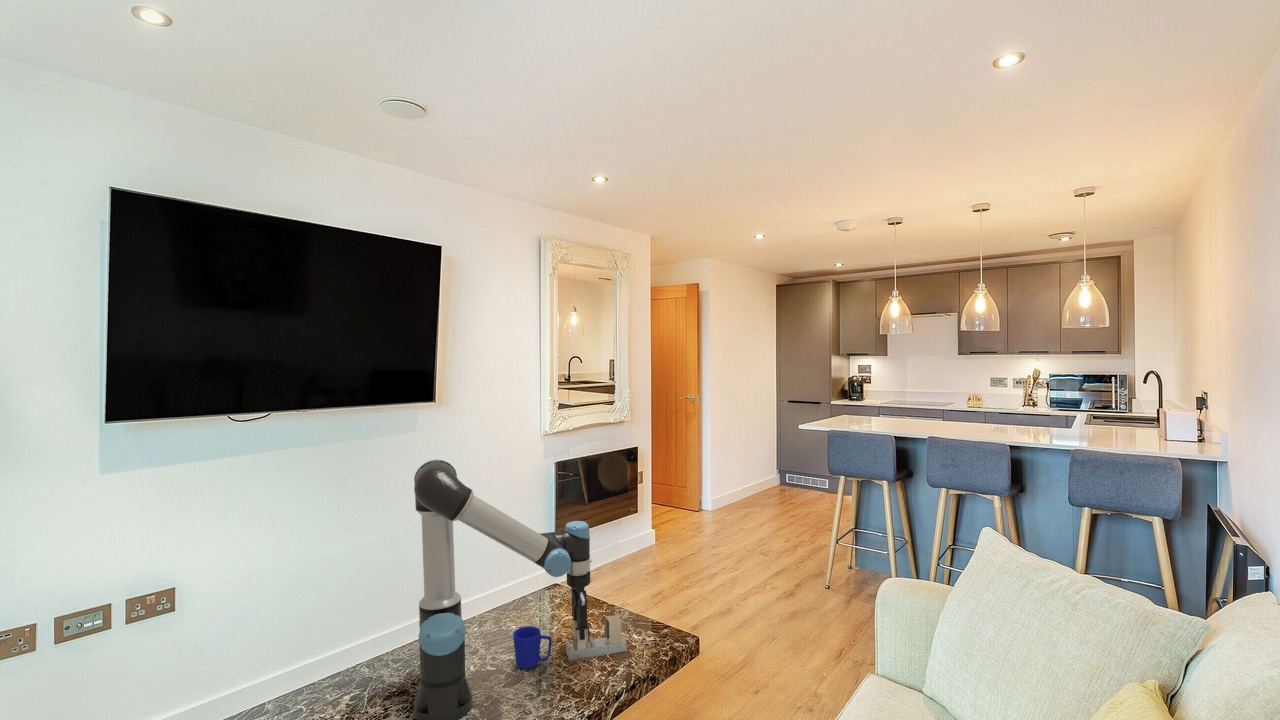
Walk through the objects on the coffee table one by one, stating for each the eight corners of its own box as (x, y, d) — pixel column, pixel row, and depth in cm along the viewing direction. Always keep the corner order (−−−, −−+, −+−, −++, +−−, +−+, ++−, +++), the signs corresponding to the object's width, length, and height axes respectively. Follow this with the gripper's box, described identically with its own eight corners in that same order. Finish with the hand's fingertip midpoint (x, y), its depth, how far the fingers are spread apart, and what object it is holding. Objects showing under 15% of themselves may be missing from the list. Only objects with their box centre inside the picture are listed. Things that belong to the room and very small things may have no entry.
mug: (546, 674, 174) (546, 641, 174) (509, 670, 177) (508, 637, 176) (556, 660, 182) (555, 628, 182) (520, 656, 185) (519, 625, 185)
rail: (568, 661, 181) (568, 629, 181) (565, 653, 186) (565, 622, 186) (626, 651, 187) (626, 620, 187) (622, 643, 192) (621, 613, 192)
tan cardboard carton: (575, 649, 182) (575, 627, 182) (572, 643, 186) (572, 621, 186) (589, 647, 184) (589, 625, 184) (587, 641, 188) (586, 619, 188)
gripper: (596, 580, 177) (598, 656, 178) (583, 560, 194) (585, 630, 194) (572, 583, 175) (573, 660, 175) (561, 563, 192) (563, 634, 192)
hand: (580, 644), depth 185 cm, fingers open, 4 cm apart
